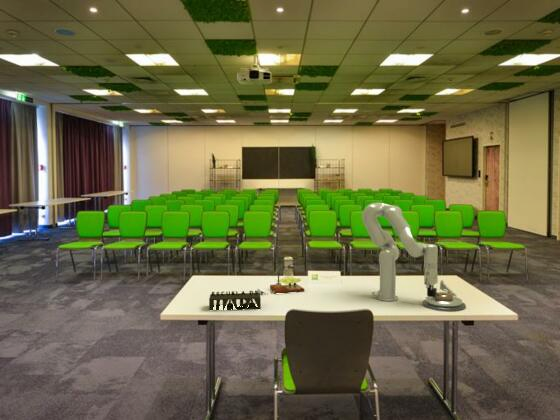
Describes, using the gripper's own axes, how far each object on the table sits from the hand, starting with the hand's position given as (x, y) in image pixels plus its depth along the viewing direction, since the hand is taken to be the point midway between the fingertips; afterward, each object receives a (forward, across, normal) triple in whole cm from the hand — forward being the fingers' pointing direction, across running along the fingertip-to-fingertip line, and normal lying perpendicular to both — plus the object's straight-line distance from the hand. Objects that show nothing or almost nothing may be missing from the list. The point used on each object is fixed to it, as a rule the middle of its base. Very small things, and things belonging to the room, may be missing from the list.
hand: (430, 296), depth 285 cm
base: (+5, +1, -8) cm, 9 cm away
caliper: (+5, +33, 0) cm, 34 cm away
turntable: (+3, +1, -8) cm, 8 cm away
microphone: (+5, -28, +91) cm, 95 cm away
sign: (+5, -74, +88) cm, 115 cm away
